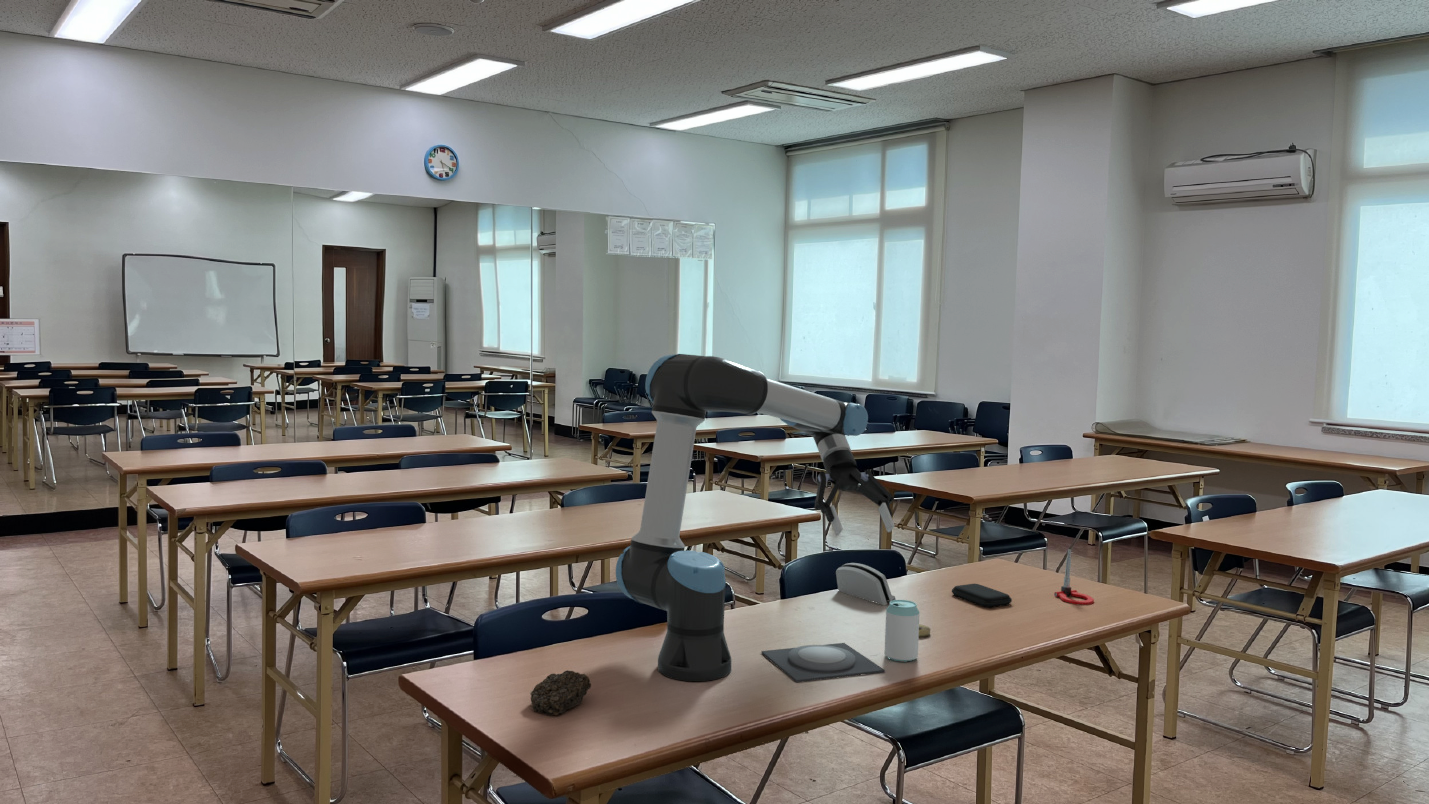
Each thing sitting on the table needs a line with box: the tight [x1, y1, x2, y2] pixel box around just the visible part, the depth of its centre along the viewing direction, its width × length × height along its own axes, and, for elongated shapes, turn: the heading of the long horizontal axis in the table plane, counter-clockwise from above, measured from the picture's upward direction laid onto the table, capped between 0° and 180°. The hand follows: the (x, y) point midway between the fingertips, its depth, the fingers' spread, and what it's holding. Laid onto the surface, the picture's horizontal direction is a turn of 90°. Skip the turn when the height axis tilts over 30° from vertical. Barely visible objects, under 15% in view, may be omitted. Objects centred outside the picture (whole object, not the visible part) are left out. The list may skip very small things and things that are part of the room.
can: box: [884, 599, 920, 663], centre depth 212 cm, size 7×7×12 cm
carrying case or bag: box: [951, 583, 1013, 609], centre depth 260 cm, size 11×3×15 cm
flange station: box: [760, 642, 886, 683], centre depth 208 cm, size 20×18×2 cm
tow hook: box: [1053, 549, 1095, 606], centre depth 261 cm, size 8×13×9 cm
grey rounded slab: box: [835, 562, 897, 606], centre depth 259 cm, size 17×5×10 cm, turn 38°
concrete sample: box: [529, 670, 592, 716], centre depth 183 cm, size 12×10×5 cm
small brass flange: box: [918, 623, 931, 639], centre depth 230 cm, size 7×7×1 cm
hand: (865, 530), depth 228 cm, fingers open, 13 cm apart
